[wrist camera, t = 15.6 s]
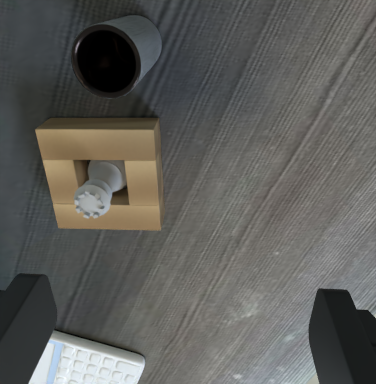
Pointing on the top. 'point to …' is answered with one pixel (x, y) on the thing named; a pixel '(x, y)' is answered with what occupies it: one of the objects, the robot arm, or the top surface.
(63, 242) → the top surface
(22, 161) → the top surface
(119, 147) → the holder
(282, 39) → the top surface
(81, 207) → the rook chess piece
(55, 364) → the calculator
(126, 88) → the planter
